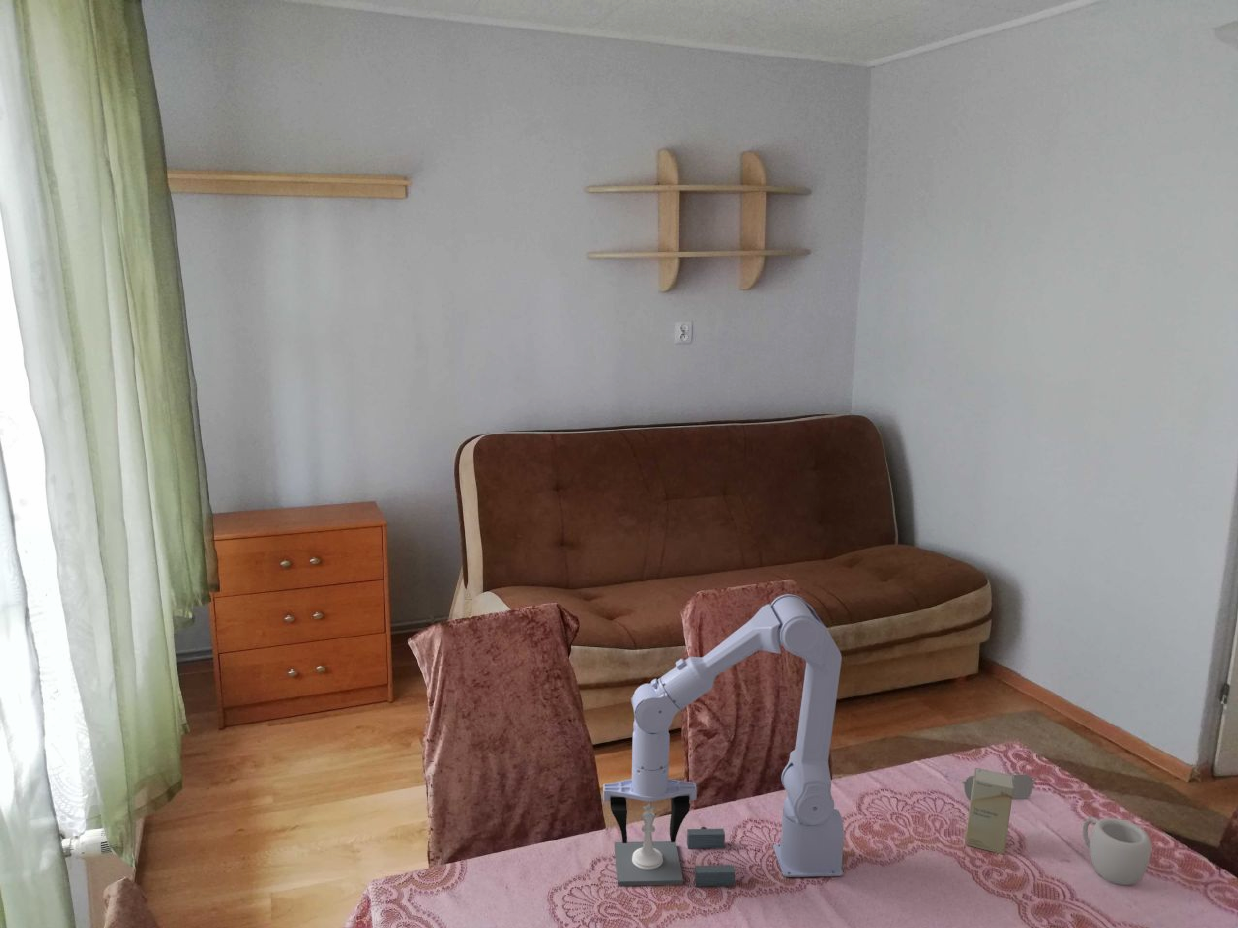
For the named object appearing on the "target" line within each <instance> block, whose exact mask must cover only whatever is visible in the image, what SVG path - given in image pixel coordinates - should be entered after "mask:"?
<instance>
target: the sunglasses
mask: <svg viewBox="0 0 1238 928" xmlns="http://www.w3.org/2000/svg"><path fill="white" fill-rule="evenodd" d="M1016 772H1018V773H1020V774H1015V773H1016ZM948 774H949V775H950V776H952V777H953V778H954V779H955V780H957V782H959V783H960V784H963V788H964V789H963V790H964V794H965V797H966V799H968V800H969V801H971V793H972V786H973V778H974V775H970V776H968V777H967V778H966V779H965V780H964V781H961V780H960V779H958V778H957V777H955V775H953V774H951V773H950V772H949V771H947V772H946V773H945V777H946V778H947V776H948ZM1011 775H1012V776H1014V789H1013V796H1012V801H1013V800H1016V801H1017V800H1028V799H1029V798H1030V796H1031V795H1032V792H1033V788H1034V782H1036V779H1034V778H1032V777H1031V776H1030V775H1029V774H1025V773H1023V772H1022V771H1019V770H1017V769H1016V770H1014V771H1013V772H1012V773H1011Z"/></svg>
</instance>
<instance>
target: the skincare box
mask: <svg viewBox="0 0 1238 928" xmlns="http://www.w3.org/2000/svg"><path fill="white" fill-rule="evenodd" d="M973 776H974V778H973V786H972V793H971V801H970V800H969V801H970V802H969V803H970V804H969V810H968V816H967V817H968V818H967V825H966V826H967V827H966V832H965V833H966V834H965V845H966V846H969V847H974V848H976V849H981V850H984V851H988V852H993V853H997V854H1001V855H1004V854H1005V853H1006V844H1007V836H1008V830H1009V823H1010V822H1009V821H1010V815H1011V808H1012V802H1013V800H1012V796H1013V789H1014V776H1012V774H1008V773H1002V772H998V771H993V770H989V769H982V768H978V767H974V772H973Z"/></svg>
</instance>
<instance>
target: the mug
mask: <svg viewBox="0 0 1238 928" xmlns="http://www.w3.org/2000/svg"><path fill="white" fill-rule="evenodd" d="M1092 822H1094V823H1095V824H1094V825H1093V827H1092V831H1091V833H1090V838H1089V825H1090V823H1092ZM1082 834H1083V835H1082V836H1083V840H1084V842H1085V844H1086V845H1087V847H1088V848H1089V855H1090V859H1091V863H1092V864H1091V865H1092V867H1093V868H1094V870H1095V871H1096V873H1097V875H1099V876H1100V877H1101V878H1102V879H1105V880H1106V881H1107V882H1110V883H1112V884H1116V885H1120V886H1131V885H1134V884H1136V883H1138V882H1139V881H1141V879H1142V878H1143V877H1144V875H1145V874H1146V871H1147V869H1148V867H1149V864H1150V860H1151V856H1152V842H1151V839H1150V836H1149V834H1148V833H1147V832H1146V830H1144V829H1143V828H1142V827H1140V826H1139V825H1138V824H1135V823H1133V822H1130V821H1128V820H1126V819H1125V820H1124V819H1121V818H1117V817H1116V818H1115V817H1105V818H1101V819H1098V818H1097V817H1094V816H1089V817H1088V818H1087V819H1085V820H1084V823H1083V827H1082Z"/></svg>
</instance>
